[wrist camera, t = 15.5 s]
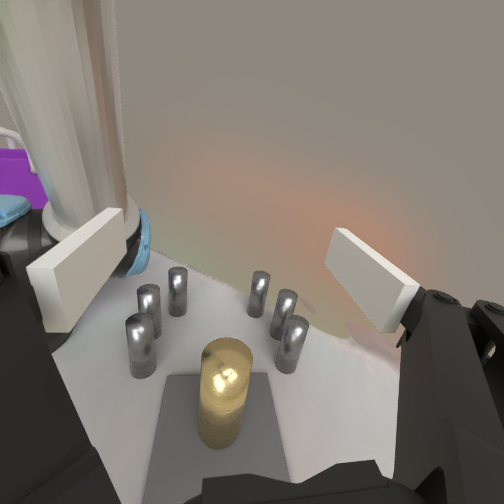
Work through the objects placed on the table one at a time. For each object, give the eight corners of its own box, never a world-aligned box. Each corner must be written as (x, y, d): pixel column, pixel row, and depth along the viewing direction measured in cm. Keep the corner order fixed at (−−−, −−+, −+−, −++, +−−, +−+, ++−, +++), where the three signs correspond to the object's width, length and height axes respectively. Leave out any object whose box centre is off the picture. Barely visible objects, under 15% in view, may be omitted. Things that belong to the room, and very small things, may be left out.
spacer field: (124, 379, 37) (117, 330, 32) (151, 305, 52) (149, 265, 48) (300, 373, 42) (315, 330, 38) (277, 307, 58) (285, 272, 53)
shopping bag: (58, 221, 84) (37, 124, 70) (99, 239, 76) (84, 134, 63) (-67, 246, 60) (-134, 109, 47) (-27, 277, 52) (-93, 122, 39)
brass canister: (188, 429, 31) (190, 360, 25) (217, 396, 36) (223, 330, 30) (222, 460, 29) (232, 391, 23) (248, 420, 33) (261, 354, 27)
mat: (138, 528, 24) (138, 525, 23) (167, 379, 38) (167, 375, 37) (293, 507, 27) (295, 504, 26) (266, 376, 41) (266, 372, 40)
